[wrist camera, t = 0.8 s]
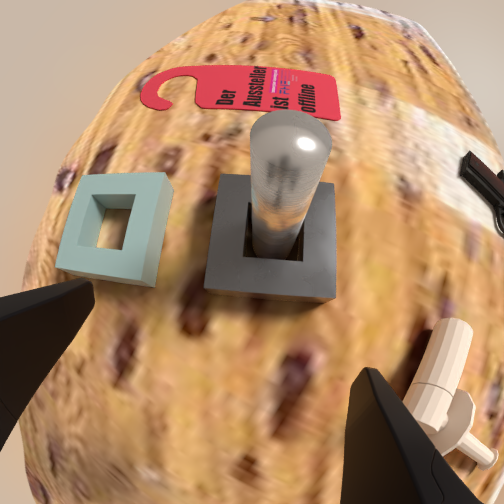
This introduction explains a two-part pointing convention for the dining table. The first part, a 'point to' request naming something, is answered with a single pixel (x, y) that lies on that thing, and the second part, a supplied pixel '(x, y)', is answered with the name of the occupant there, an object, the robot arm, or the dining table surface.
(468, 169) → the handgun
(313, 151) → the steel pin
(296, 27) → the dining table surface
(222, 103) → the door hanger
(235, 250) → the socket block
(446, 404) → the toilet paper hanger
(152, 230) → the block
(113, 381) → the dining table surface
